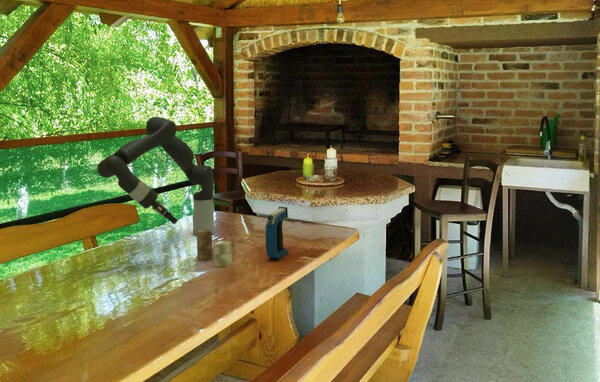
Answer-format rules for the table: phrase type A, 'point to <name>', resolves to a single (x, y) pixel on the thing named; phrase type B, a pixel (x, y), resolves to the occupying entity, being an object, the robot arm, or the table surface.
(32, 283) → the table surface
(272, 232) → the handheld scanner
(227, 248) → the beech block
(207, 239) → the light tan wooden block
